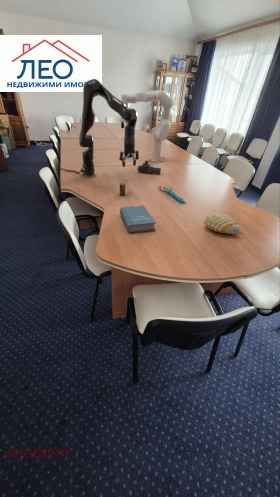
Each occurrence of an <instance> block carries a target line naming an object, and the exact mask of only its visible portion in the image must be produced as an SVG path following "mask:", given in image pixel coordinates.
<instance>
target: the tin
mask: <svg viewBox="0 0 280 497" xmlns="http://www.w3.org/2000/svg"><path fill="white" fill-rule="evenodd" d="M119 196H120V197H125V196H126V183H125V182H120V183H119Z"/></svg>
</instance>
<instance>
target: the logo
mask: <svg viewBox="0 0 280 497" xmlns="http://www.w3.org/2000/svg"><path fill="white" fill-rule="evenodd" d="M158 187H159V188H160V190H161V191H162V192H166V193H167V194H168V195H170V196H171V197H172V198H173V199H175V200H176V201H178V202H179V203H180V204H186V201H185V200H184V199H183V198H182V197H179V196H178V195H177V194H175V192H173V191H172V190H171V189H172V187H168V186H167V185H165V186H163V185H159V186H158Z"/></svg>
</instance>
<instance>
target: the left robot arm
mask: <svg viewBox="0 0 280 497" xmlns="http://www.w3.org/2000/svg"><path fill="white" fill-rule="evenodd" d="M82 96H83V97H82V98H83V99H82V100H83V101H82V102H83V103H82V113H81V123H80V124H81V125H80V132H79V138H78V144H79V146H80V147H81V148H86V149H85V150H83V151H82V153H81V155H82V168H80V170H79V171H77V170H72V169H71V170H70V169H66V168H62V167H61V168H59V171H62V170H63V171H65V172H72V173H73V172H74V173H76V174H81V173H82V174H83V176H84V177H85V178H94V177H95V175H96V174H95V159H94V138H93V136H92V135H91V134H88V132H89V131H90V130H91V129H92V128H93V126H94V125H95V119H96V112H95V110H94V108H93V103H94V102H93V101H94V99H95V97H98V96H100V97H101V98H103V99H104V100H105V101H106V104H107V106H108V107H109V108H110V109H111V110H113V111H114V112H115V113H116V114H118V116H119V117H120V118H121V117H122V118H123V119H124V120H126V121H128V122H127V125H126V124H125V125H124V136H123V150H124V151H121V150H120V151H119V161H120V162H121V166H122V167H123V168H125V167H126V160H127V159H130V158H132V159H133V160H132V166H133V167H134V166H136V165H137V161H138V160H139V159H140V158H139V157H140V156H139V155H140V154H139V153H140V152H139V150H135V149H136V126H137V121H138V112H137V110H136V109H135V108H134V107H133V108H132V107H131V108H129V109H128V108H127V107H125V104H124V103H123V102H122V101H121V99H119V98H117V97H116V96H115V95H114V94H112V92H111V91H109V89H107V87H105V85H103V84H102V83H101V81H99V79H97V78H91V79H89V80H87V81H85V82H83V86H82Z"/></svg>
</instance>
